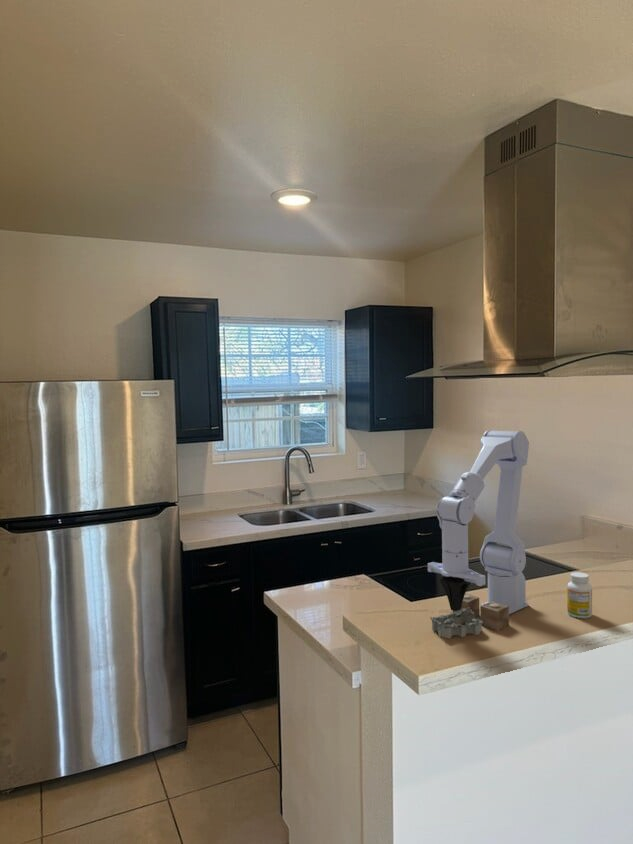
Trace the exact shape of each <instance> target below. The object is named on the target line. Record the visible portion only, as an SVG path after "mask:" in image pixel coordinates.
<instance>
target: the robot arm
mask: <svg viewBox="0 0 633 844" xmlns="http://www.w3.org/2000/svg"><path fill="white" fill-rule="evenodd" d="M529 448H530V441H529V440H528V437H527V435H526V434H525V431H522V430H516V431H515V430H514V431H513V430H491V429H487V430H486V431H485V432H483V435H482V437H481V438H480V450H479V453H478V455H477V456H476V459H475V461H474V463H473V465H472V467H471V469H470V471H466V472H464V473H462V474H461V476H460V477H459V479H458V480H457V482H456V483H455V485H454V487H453V488H452V490H451V491H450V493H449V494H448V495H446V496H444V497H442V498H440V500H439V501H438V503H437V506H436V507H437V508H436V509H435V513H436V517H437V519H438V521H439V527H440V529H441V542H442V543H441V549H442V551H441V552H442V553H441V556H442V557H441V558H442V560H441V561H442V563H440V562H436V561H432V562H428V563H427V572H428V573H436V574H441V576H442V578H440V579H439V583H440V584H441V586H442V587H443V589H444V591H445V594H446V597H447V600H448V603H449V607H450V610H451V611H452V612H453V611H458V610H460V609H461V606H462V602H463V598H464V595H465V593H466V594H467V590H468V588H469V586H470V585H471V584H475V585H476V586H478V587H481V586H486V575H484V574H481V573H478V572H477V571H474V570H472V569H470V568H469V524H470V522H471V521H472V520H473V518H474V515H475V514H474V512H475V508H476V502H477V500H478V498H479V497H480V495H481V494H482V492H483V490H484V489H485V483H484V482H485V481H484V479H485V478H486V476H487V475H488V474H489V473H490V472H491V470H492V469H493V468H494V466H495V465H497V466H498V468H499V469H500V475H499V480H498V481H499V483H498V492H497V501H496V508H495V509H496V510H495V517H494V518H495V519H494V526H493V531H492V532H490V533H489V534H487V535H486V536H484V539H483V544H482V547H481V549H480V550H479V560H480V563H481V565H482V566H483V567H484V570H485V571H486V572H487V601H486V602H483V603H481V604H480V606H482V605H484V604H487V603H489V602H491V601H493V602H496V603H499V604H503V605H506V606H509V615H510V614H511V615H512V614H513V613H515V612H517V611H520V610H521V609H524V608H526V607H529V606H530V603H528V602H526V601H527V600H526V599H527V597H526V596H527V595H526V593H527V588H526V587H527V586H526V585H527V584H526V577H525V576H524V573H523V571H524V570H525V567H526V564H527V557H526V544H525V542H524V541H523V540H522V539H521V538H520V537H519V536H518V535H517V534H516V529H517V523H518V522H517V521H518V511H519V504H520V502H519V501H520V496H521V494H520V493H521V485H522V477H523V476H522V475H523V468H524V467H525V466H527V465H528V464H527V463H528V456H529Z"/></svg>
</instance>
